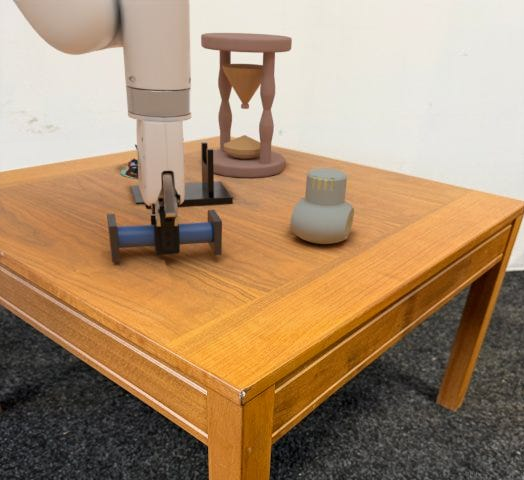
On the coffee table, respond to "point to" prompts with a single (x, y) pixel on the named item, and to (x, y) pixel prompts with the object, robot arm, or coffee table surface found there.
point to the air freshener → (323, 208)
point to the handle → (145, 236)
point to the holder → (199, 186)
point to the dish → (131, 169)
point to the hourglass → (246, 103)
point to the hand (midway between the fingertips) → (165, 247)
